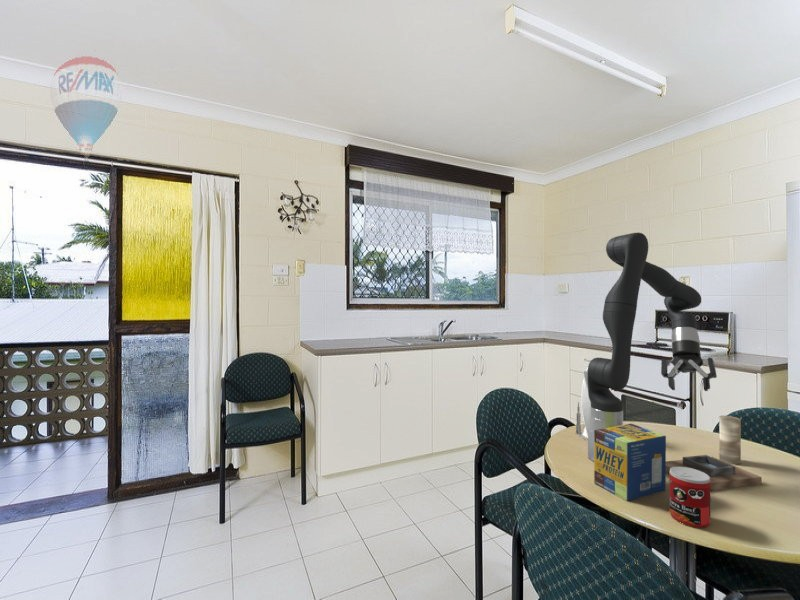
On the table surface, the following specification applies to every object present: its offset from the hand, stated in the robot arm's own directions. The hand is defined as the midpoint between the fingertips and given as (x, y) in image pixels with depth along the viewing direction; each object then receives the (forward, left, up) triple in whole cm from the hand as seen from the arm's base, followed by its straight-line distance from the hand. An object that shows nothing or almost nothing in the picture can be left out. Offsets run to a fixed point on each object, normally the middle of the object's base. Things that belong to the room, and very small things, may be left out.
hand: (689, 389), depth 121 cm
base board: (-3, -9, -23) cm, 25 cm away
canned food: (-29, -26, -24) cm, 46 cm away
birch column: (+14, -2, -23) cm, 27 cm away
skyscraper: (-15, +26, -24) cm, 39 cm away
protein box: (-31, -10, -24) cm, 40 cm away
